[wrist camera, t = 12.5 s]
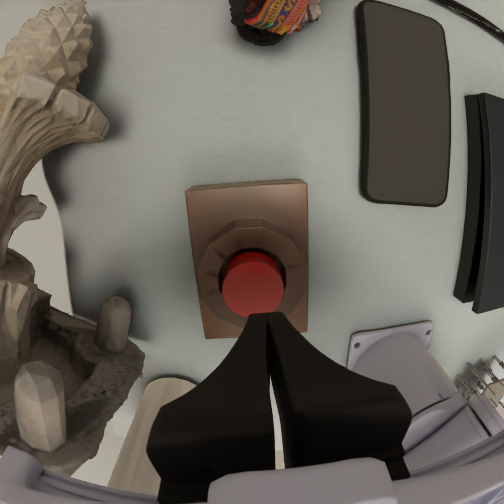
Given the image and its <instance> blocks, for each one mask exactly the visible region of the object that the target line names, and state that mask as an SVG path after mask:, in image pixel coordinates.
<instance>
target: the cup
mask: <svg viewBox="0 0 504 504" xmlns="http://www.w3.org/2000/svg"><path fill="white" fill-rule="evenodd" d="M194 387H196V385H195V384H193V383H191V382H189V381H186V380H182V379H177V378H159V379H157V380H154V381H152V382H150V383H149V384H148V385H147V387H146V388H145V389H144V393H143V396H142V398H141V401H140V403H139V406H138V408H137V411H136V414H135V416H134V419H133V421H132V424H131V426H130V429H129V431H128V434H127V436H126V439H125V441H124V444H123V446H122V449H121V451H120V454H119V457H118V459H117V462H116V465H115V467H114V470H113V472H112V475H111V478H110V480H109V483H108V486H107V487H110V488H114V489H119V490H124V491H129V492H135V493H141V494H148V495H155V496H158V492H159V487H160V482H161V478H160V476H159V475H158V473H157V472H156V470H155V468H154V467H153V465H152V463H151V462H150V460H149V458H148V456H147V453H146V445H147V441H148V437H149V434H150V430H151V427H152V424H153V422H154V420H155V418H156V416H157V414H158V412H159V410H160V408H161V406H163V405H165V404H167V403H169V402H171V401H173V400H175V399H177V398H178V397H180V396H182V395H184V394H185V393H187V392H188V391H190V390H191V389H193V388H194Z"/></svg>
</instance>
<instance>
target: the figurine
mask: <svg viewBox="0 0 504 504" xmlns="http://www.w3.org/2000/svg"><path fill="white" fill-rule="evenodd" d="M319 1H320V0H229V4H230V6H231V8H230V11H231V16H232V19H231V23H232V24H234V25H235V26H236V27H237V30H238V33H239V35H240V36H241V37H242V38H243V39H244V40H246V41H249V42H251V43H253V44H256V45H260V46H269V45H275V44H277V43H278V42H279V41H281V40H282V39H283V38H284V36H285V35H286V34H287V35H289V34H290V33H291V32H294V31H297V32H299V31H300V30H301V29H302V27H303V26H304V24H305V23H310V22H314V21H317V20H318V17H319V15H320V14H321V9H320V6H319V5H318V4H317V3H318V2H319ZM248 24H249V25H251V26H254V27H255V28H254V29H253V30H252V29H250V28H249V26H248Z"/></svg>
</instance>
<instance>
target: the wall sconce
mask: <svg viewBox="0 0 504 504" xmlns="http://www.w3.org/2000/svg"><path fill="white" fill-rule="evenodd" d="M85 4H86V2H85V1H84V0H71V1H69V2H68V3H66V2H65V3H64V4H59V5H55V6H54V7H52V8H51V9H50V10H49V11H48V10H43V9H41V10H40V12H39V13H38V15H37V16H36V18H35V19H29V20H28V21H27V22H25V23H24V25H23V27H22V28H21V30H20V32H19V34H18V35H17V36H15V37H14V38H12V39H11V41H10V42H8V43H7V45H6V52H5V56H4V57H3V58H2V59H0V455H1V456H2V455H3V453H4V452H5V450H6V448H7V446H12V447H14V448H17V449H19V450H22V451H24V452H27V453H29V454H31V455H32V456H34V457H35V458H36V459H37V460H38V461H39V462H40V463H41V465H42V466H43V468H44V469H47V470H50V471H53V472H56V473H59V474H62V475H65V476H68V477H70V476H71V475H72V474H73V473H74V472H75V471H76V470H77V469H78V468H79V467H80V466H81V465H82V464H83V463H85V462H86V461H87V460H88V459H92V458H93V457H94V456H96V454H97V452H98V449H99V444H100V443H101V441H102V439H103V436H104V429H105V427H106V423H107V422H108V421H109V420H110V419H111V418H113V414H114V413H115V412H116V411H117V410H118V409H119V408H120V406H121V405H123V402H124V401H125V400H126V399H127V398H128V393H129V391H130V388H131V387H132V386H133V384H134V382H135V381H136V380H137V378H138V377H139V378H141V379H142V376H143V373H141V372H142V369H143V361H144V358H145V354H144V353H143V352H142V351H141V350H139V348H138V347H137V345H136V344H134V343H133V342H131V341H130V340H129V339H127V336H128V331H129V326H130V321H131V316H132V310H131V307H130V304H129V302H128V301H127V300H125V299H123V298H121V297H119V296H113V297H111V298H109V299H107V300H106V301H105V302H104V304H103V306H102V309H101V313H100V316H99V320H98V323H97V326H96V325H94V324H92V323H90V322H87V321H85V320H82V319H78V318H76V317H74V316H71V315H69V314H68V313H65V312H62V311H60V310H58V309H56V308H54V307H52V306H50V299H51V296H52V295H50V294H48V293H46V292H44V291H42V290H40V289H38V288H37V285H36V284H34V276H35V270H34V267H33V265H32V263H31V262H29V260H27V259H26V258H25V257H24V256H22V255H21V254H19V253H17V252H16V251H14V250H13V249H10V248H7V247H8V242H9V240H10V238H11V236H12V233H13V231H14V230H15V229H16V228H17V227H18V226H19V225H20V224H22V223H23V222H24V221H28V220H35V219H40V218H41V217H42V216H43V214H44V212H45V210H46V207H47V206H45V205H44V204H43V203H41V202H39V200H38V198H37V196H36V195H32V194H30V195H26V196H23V195H21V191H22V187H23V183H24V180H25V178H26V177H27V175H28V174H29V172H30V171H31V170H32V168H33V167H34V165H35V164H36V163H37V162H38V161H39V160H40V159H42V158H43V157H44V156H45V155H46V154H47V153H49V152H50V151H52V150H54V149H56V148H58V147H61V146H63V145H66V144H70V143H73V142H88V143H95V142H101V141H102V140H103V139H104V137H105V135H106V133H107V131H108V129H109V127H110V124H109V122H108V119H107V118H106V117H105V116H104V114H103V113H102V112H101V111H100V110H99V108H98V107H97V106H96V105H95V103H94V102H92V101H90V100H89V99H87V98H85V97H84V96H82V95H81V94H80V93H78V92H77V91H76V89H77V87H76V85H77V84H78V83H79V74H80V73H81V72H82V71H83V70H84V69H85V68H86V67H87V66H88V64H87V63H86V62H87V54H88V52H89V51H90V49H91V47H92V46H93V45H92V43H93V42H92V41H91V39H90V38H89V37H90V34H91V30H92V25H91V24H90V23H89V19H90V15H89V14H88V12H87V11H86V9H85V6H84V5H85Z"/></svg>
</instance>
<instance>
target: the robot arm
mask: <svg viewBox="0 0 504 504" xmlns="http://www.w3.org/2000/svg"><path fill="white" fill-rule="evenodd" d="M433 328H434V324H433V323H432V322H431V321H426V322H421V323H416V324H410V325H405V326H399V327H394V328H388V329H381V330H375V331H369V332H362V333H356V334H354V335H353V336H352V337H351V341H350V349H349V356H348V363H347V368H345V367H343V366H342V365H340V364H338V363H336V362H334V361H333V360H331V359H330V358H328V357H327V356H325V355H324V354H322V353H321V352H320V351H318V350H317V349H316V348H315V347H314V346H313V345H312V344H310V343H309V342H308V341H307V340H306V339H305V338H304V337H303V336H302V335H301V334H300V333H299V332H298V331H297V329H296V328H295V327H294V326H293V325H292V324H291V322H290V321H289V320H288V319H287V317H286V316H285V314H284V313H283V312H282V311H280V312H267V313H253V314H250V315H249V316H248V318H247V321H246V324H245V326H244V328H243V331H242V332H241V334H240V336H239V338H238V340H237V341H236V343H235V345H234V346H233V348H232V349H231V350H230V352H229V353H228V355H227V356H226V357H225V359H224V360H223V361H222V362H221V363H220V365H219V366H218V367H217V368H216V369H215V370H214V371H213V372H212V373H211V374H210V375H209V376H208V377H207V378H206V379H204V380H203V381H202V382H201V383H200V384H198V385H197V386H196V387H194V388H193V389H191V390H190V391H188V392H187V393H185V394H184V395H182V396H180V397H178V398H177V399H175V400H173V401H171V402H169V403H167V404H165V405H163V406H161V408H160V410H159V412H158V414H157V416H156V418H155V420H154V422H153V424H152V427H151V430H150V434H149V437H148V441H147V445H146V453H147V456H148V458H149V460H150V462H151V463H152V465H153V467H154V468H155V470H156V472H157V473H158V475H159V476H160V478H161V482H160V487H159V492H158V496H155V495H148V494H141V493H135V492H129V491H124V490H119V489H114V488H110V487H105V486H100V485H97V484H92V483H89V482H85V481H82V480H78V479H75V478H71V477H68V476H65V475H62V474H59V473H56V472H53V471H50V470H47V469H44V468H43V466H42V465H41V463H40V462H39V461H38V460H37V459H36V458H35V457H34V456H32V455H31V454H29V453H27V452H24V451H22V450H19V449H17V448H14V447H12V446H7V448H6V450H5V452H4V453H3V455H2V457H1V459H0V504H504V420H503V418H502V417H501V416H500V414H499V413H498V412H497V410H496V409H495V408H494V406H493V405H492V404H491V402H490V401H489V400H488V399H487V397H486V396H485V395H478V396H477V395H476V394H473V395H472V396H471V397H470V398H469V399H468V400H469V402H470V403H469V402H468V401H467V400H466V399H465V398H464V397H463V395H462V394H461V393H460V392H459V390H458V389H457V388H456V386H455V385H454V384H453V382H452V381H451V380H450V378H449V377H448V376H447V374H446V373H445V372H444V370H443V369H442V368H441V366H440V365H439V364H438V362H437V361H436V360H435V359H434V357H433V356H432V355H431V353H430V352H429V351H428V346H429V343H430V339H431V335H432V332H433ZM427 331H428V332H427ZM356 343H358V344H357V345H355V344H356ZM270 377H271V381H272V386H273V390H274V395H275V399H276V404H277V409H278V413H279V418H280V424H281V433H282V443H283V453H284V463H285V469H280V470H275V437H274V423H273V414H272V407H271V400H270Z"/></svg>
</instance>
